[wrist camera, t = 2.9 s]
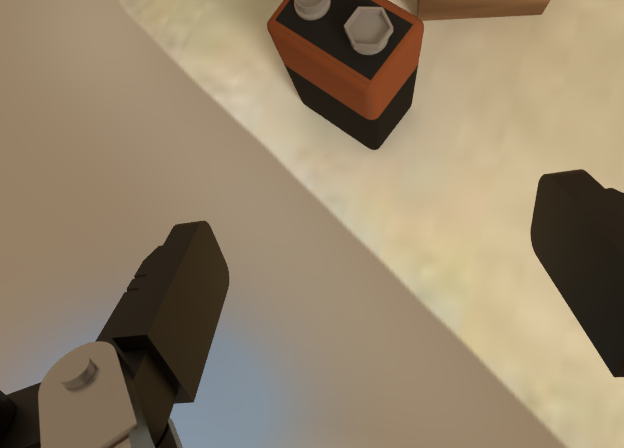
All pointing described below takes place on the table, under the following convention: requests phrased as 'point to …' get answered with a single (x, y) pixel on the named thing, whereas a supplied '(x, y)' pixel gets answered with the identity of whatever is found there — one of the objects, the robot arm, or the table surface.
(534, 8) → the base brick
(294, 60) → the battery
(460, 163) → the table surface
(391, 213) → the table surface
